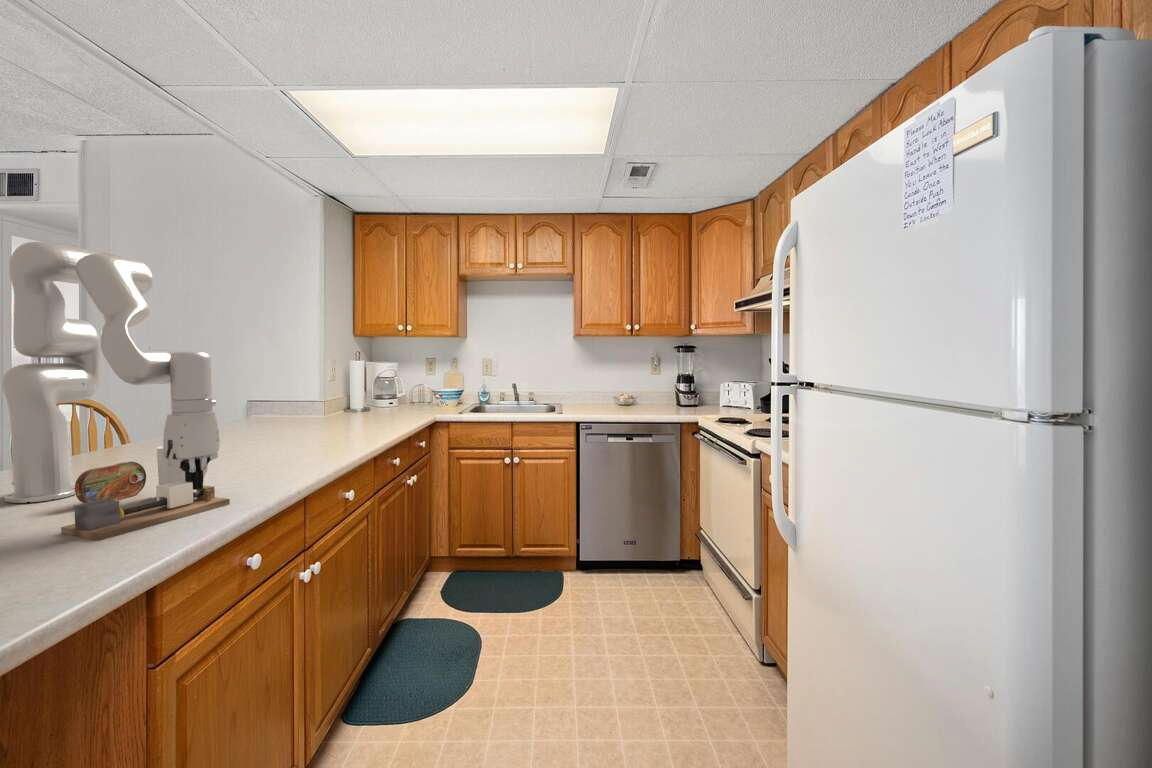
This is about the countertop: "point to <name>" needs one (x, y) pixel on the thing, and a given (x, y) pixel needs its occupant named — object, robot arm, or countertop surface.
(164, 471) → the mug
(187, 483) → the off-white block
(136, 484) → the tin
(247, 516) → the countertop surface
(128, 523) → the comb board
